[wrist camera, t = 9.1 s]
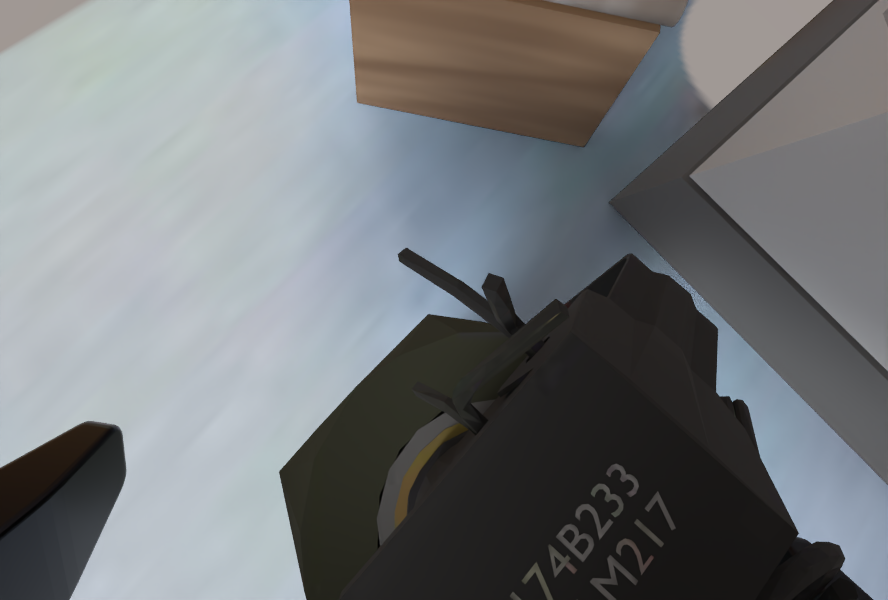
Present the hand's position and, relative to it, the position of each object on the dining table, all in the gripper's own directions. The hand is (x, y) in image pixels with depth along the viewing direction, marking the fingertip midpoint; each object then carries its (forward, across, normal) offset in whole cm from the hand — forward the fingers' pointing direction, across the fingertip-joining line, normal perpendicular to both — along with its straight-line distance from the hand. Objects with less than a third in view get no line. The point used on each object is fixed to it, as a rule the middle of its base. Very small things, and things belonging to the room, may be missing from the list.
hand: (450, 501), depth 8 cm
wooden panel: (+16, 0, -2) cm, 16 cm away
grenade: (+8, -1, +7) cm, 10 cm away
